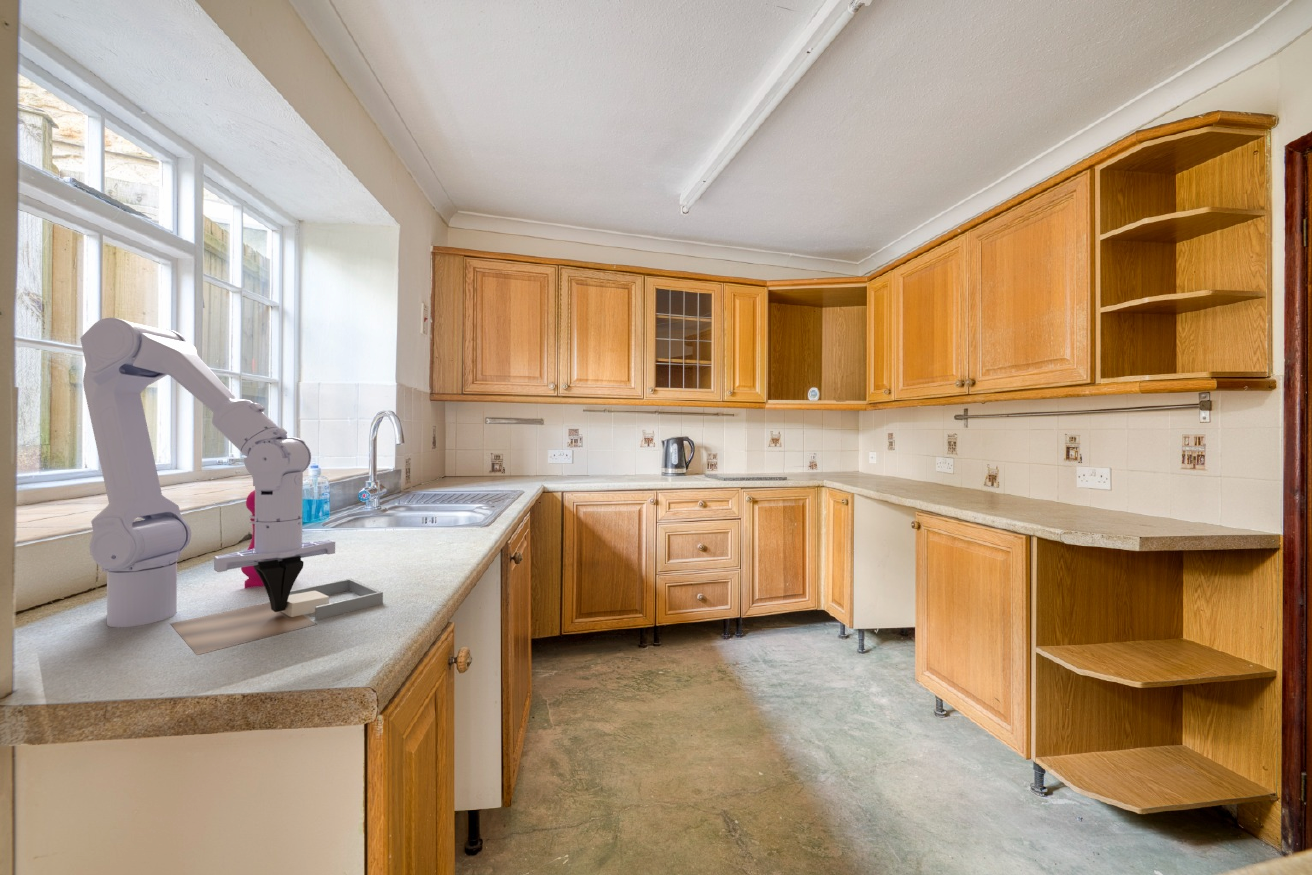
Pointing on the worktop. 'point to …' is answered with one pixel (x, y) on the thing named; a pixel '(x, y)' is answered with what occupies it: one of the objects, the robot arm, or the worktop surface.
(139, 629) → the worktop surface
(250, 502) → the pepper mill
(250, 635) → the board
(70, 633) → the worktop surface
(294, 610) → the tile
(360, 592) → the box
